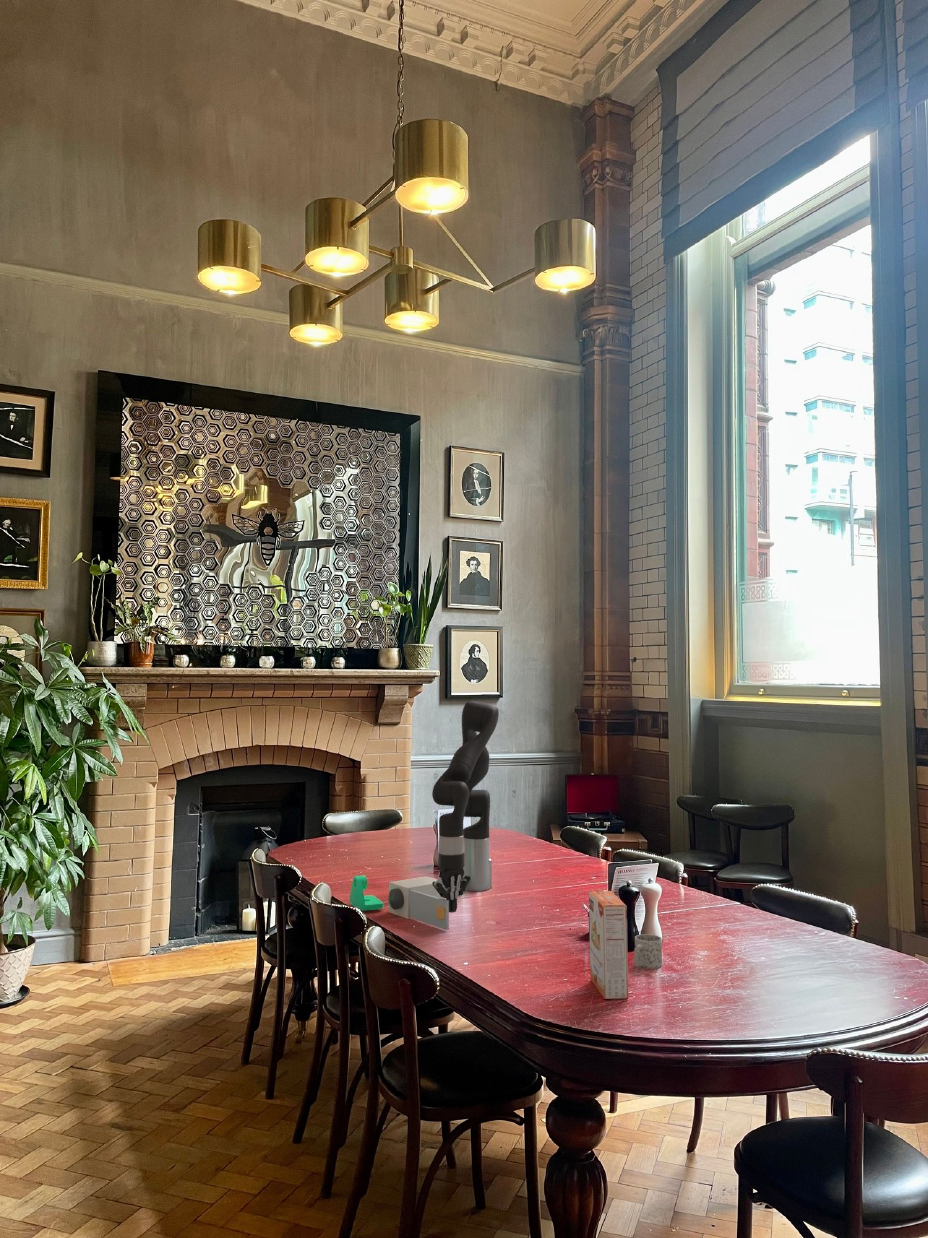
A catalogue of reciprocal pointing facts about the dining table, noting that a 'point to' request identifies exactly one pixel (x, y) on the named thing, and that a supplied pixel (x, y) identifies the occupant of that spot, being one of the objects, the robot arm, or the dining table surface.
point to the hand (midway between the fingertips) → (451, 911)
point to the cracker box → (608, 944)
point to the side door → (429, 909)
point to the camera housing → (401, 893)
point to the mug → (648, 951)
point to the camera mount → (358, 895)
